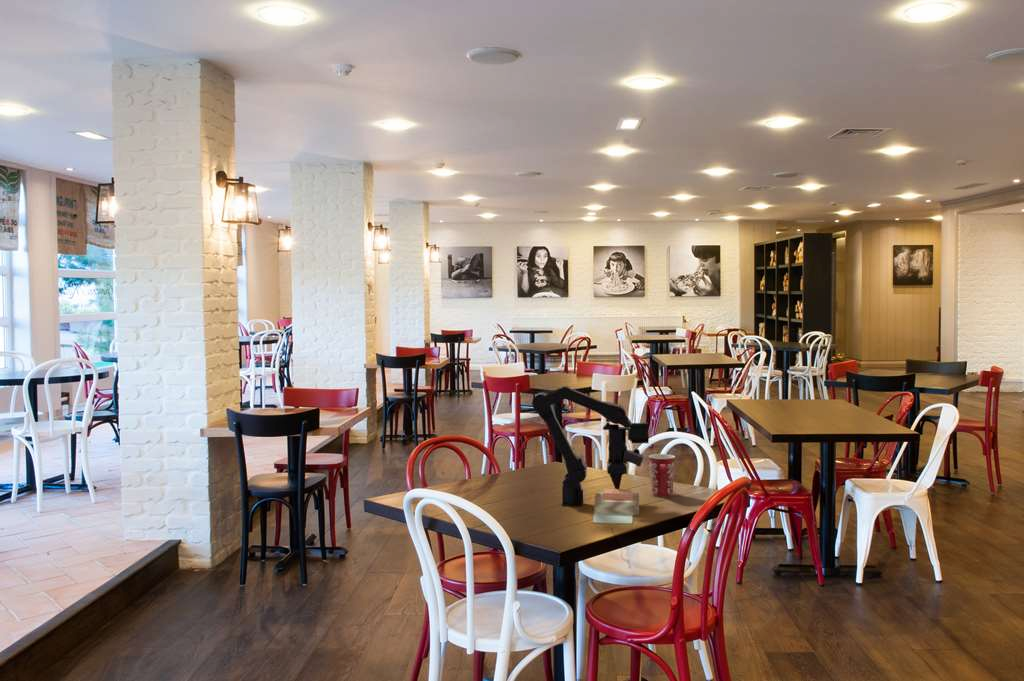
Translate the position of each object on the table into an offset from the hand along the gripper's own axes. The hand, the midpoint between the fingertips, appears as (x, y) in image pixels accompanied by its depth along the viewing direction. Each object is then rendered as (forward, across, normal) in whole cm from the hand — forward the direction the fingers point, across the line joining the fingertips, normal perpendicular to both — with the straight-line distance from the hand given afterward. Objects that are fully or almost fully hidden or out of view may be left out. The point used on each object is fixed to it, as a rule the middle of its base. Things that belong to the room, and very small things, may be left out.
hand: (617, 489), depth 278 cm
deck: (+5, -6, 0) cm, 8 cm away
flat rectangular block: (+1, -6, 0) cm, 6 cm away
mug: (+5, +14, -15) cm, 21 cm away
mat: (+5, -18, +1) cm, 18 cm away
